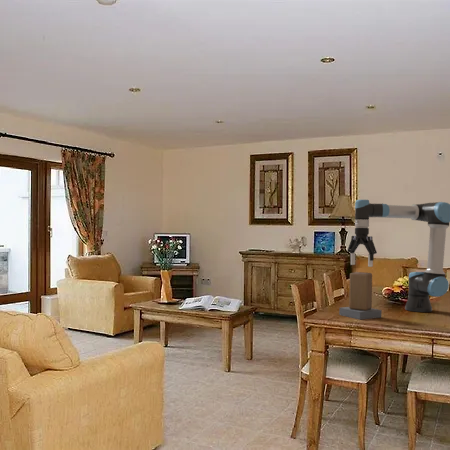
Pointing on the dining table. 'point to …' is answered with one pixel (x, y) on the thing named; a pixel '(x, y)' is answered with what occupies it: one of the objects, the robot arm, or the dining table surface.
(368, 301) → the wooden block
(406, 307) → the robot arm
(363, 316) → the charcoal plinth
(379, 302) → the dining table surface
